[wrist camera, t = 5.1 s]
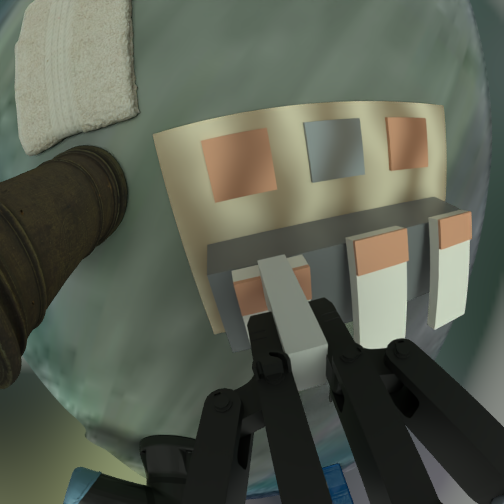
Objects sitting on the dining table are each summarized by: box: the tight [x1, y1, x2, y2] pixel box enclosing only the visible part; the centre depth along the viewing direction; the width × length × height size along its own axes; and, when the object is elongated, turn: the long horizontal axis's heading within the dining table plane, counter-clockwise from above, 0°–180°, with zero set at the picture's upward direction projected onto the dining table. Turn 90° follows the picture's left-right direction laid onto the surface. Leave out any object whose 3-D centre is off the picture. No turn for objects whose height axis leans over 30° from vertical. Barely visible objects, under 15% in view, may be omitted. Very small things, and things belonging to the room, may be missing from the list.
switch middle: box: [345, 226, 409, 349], centre depth 19 cm, size 4×10×2 cm, turn 10°
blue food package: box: [322, 463, 354, 504], centre depth 55 cm, size 6×12×25 cm, turn 5°
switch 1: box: [232, 254, 312, 345], centre depth 19 cm, size 4×10×2 cm, turn 10°
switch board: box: [153, 101, 446, 334], centre depth 24 cm, size 28×20×2 cm
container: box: [0, 146, 127, 389], centre depth 13 cm, size 9×9×18 cm
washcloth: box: [15, 0, 140, 156], centre depth 13 cm, size 12×18×3 cm, turn 6°
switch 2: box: [427, 210, 472, 330], centre depth 19 cm, size 4×10×2 cm, turn 10°
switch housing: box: [207, 197, 461, 352], centre depth 23 cm, size 24×8×5 cm, turn 100°
